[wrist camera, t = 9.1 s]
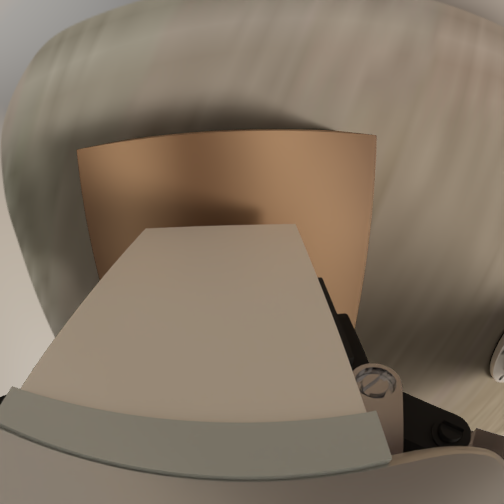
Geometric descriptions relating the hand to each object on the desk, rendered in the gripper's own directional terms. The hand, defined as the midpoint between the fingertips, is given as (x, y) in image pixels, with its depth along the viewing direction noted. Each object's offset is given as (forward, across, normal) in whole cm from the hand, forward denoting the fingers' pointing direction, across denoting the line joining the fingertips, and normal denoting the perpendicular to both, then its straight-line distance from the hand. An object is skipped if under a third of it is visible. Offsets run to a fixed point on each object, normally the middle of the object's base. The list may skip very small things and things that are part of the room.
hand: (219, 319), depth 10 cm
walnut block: (+9, 0, 0) cm, 9 cm away
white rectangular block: (+2, 0, 0) cm, 2 cm away
